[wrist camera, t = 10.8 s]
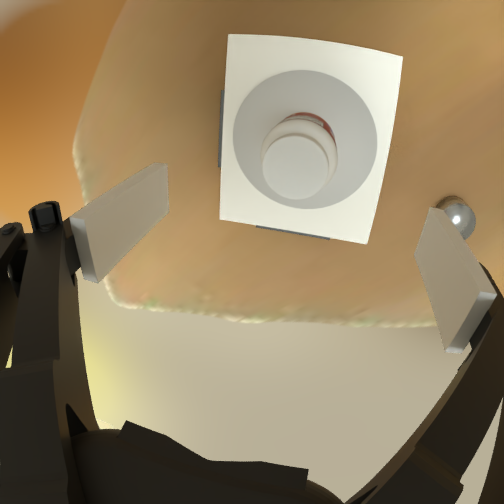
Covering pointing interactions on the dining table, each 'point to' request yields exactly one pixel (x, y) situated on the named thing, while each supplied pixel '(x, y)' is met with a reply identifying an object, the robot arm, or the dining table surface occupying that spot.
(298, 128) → the pill bottle
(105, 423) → the dining table surface
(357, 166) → the scale
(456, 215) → the shiny grey dome
